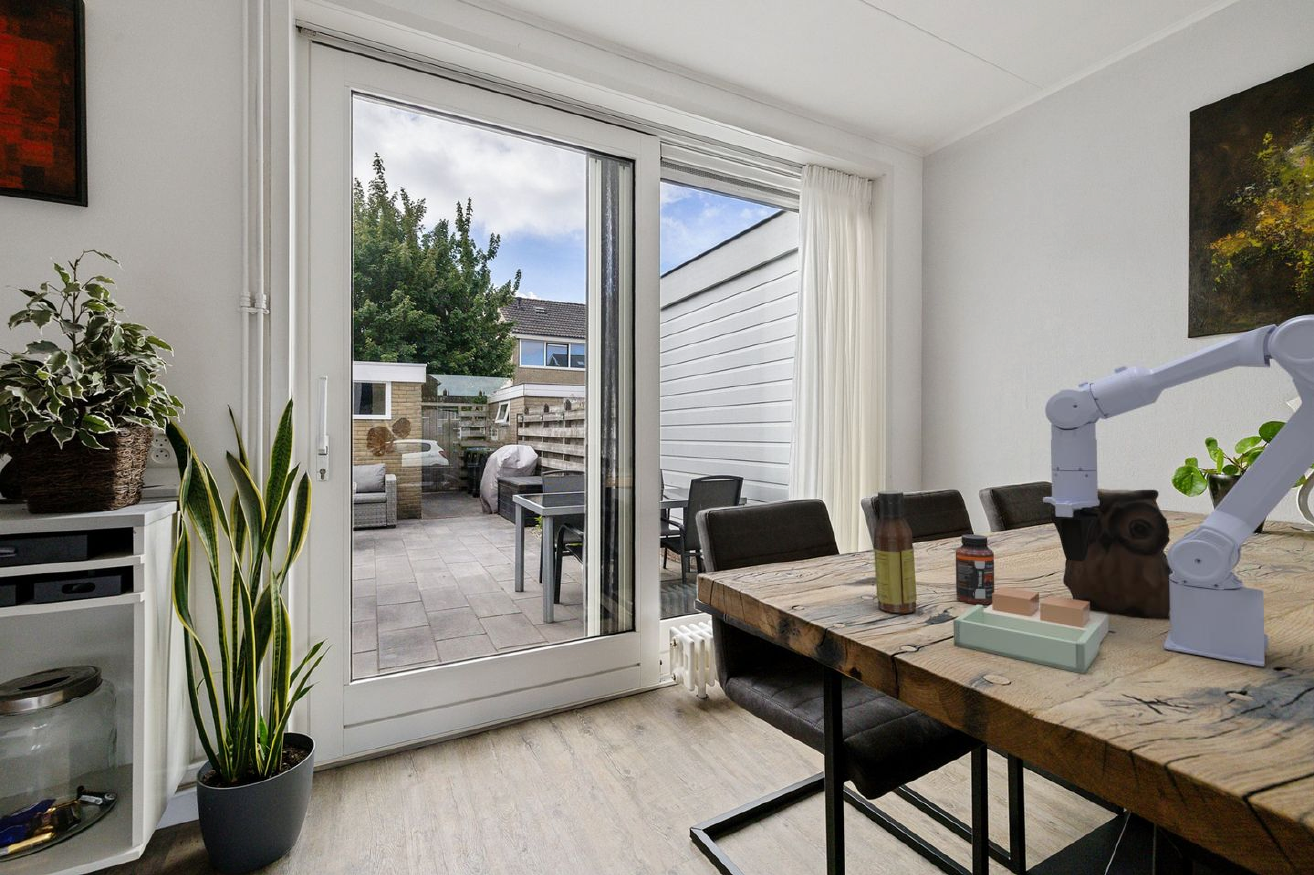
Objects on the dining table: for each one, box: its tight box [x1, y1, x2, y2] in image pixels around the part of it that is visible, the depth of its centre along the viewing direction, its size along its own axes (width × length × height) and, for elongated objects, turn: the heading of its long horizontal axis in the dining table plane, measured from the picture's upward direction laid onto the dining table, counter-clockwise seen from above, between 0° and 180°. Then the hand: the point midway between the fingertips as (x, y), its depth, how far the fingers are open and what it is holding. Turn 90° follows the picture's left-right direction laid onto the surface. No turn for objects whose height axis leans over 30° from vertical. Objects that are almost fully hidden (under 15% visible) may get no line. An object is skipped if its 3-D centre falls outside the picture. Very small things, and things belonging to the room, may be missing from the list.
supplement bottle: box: [955, 534, 995, 605], centre depth 105 cm, size 6×6×11 cm
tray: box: [952, 604, 1100, 675], centre depth 82 cm, size 15×10×4 cm, turn 45°
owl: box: [1062, 488, 1174, 620], centre depth 98 cm, size 13×13×20 cm
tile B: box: [991, 586, 1040, 616], centre depth 91 cm, size 5×5×2 cm
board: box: [983, 603, 1109, 645], centre depth 89 cm, size 14×10×2 cm
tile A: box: [1039, 595, 1091, 628], centre depth 86 cm, size 5×5×2 cm
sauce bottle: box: [873, 490, 918, 615], centre depth 101 cm, size 6×6×20 cm
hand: (1075, 559), depth 91 cm, fingers closed
